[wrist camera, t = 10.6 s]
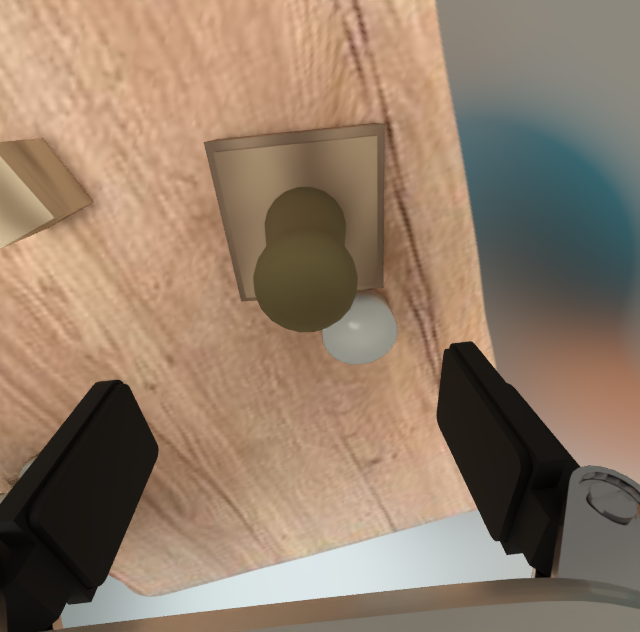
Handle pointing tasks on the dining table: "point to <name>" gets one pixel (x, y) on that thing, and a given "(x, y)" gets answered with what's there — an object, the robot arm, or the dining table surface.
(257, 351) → the dining table surface
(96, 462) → the robot arm
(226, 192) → the walnut stand
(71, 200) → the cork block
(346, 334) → the pale grey dome
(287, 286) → the pepper shaker
